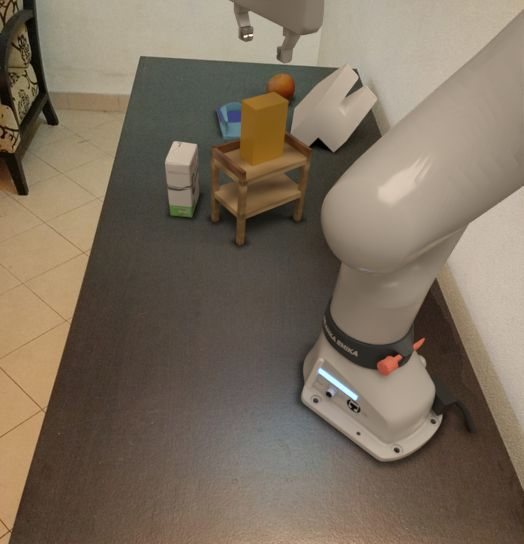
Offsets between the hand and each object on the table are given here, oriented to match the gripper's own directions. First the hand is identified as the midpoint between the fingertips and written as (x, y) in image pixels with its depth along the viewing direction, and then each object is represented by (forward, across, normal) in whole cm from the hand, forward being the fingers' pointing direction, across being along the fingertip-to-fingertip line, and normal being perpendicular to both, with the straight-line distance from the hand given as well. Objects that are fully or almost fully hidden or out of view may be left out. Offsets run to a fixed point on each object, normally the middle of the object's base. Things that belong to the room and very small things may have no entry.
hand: (264, 50), depth 70 cm
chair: (+32, +25, -13) cm, 43 cm away
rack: (+33, +3, -3) cm, 33 cm away
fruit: (+32, +44, -42) cm, 69 cm away
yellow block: (+19, +3, -3) cm, 19 cm away
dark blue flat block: (+32, +39, -23) cm, 55 cm away
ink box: (+33, +15, +7) cm, 37 cm away
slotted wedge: (+33, +21, -40) cm, 56 cm away
